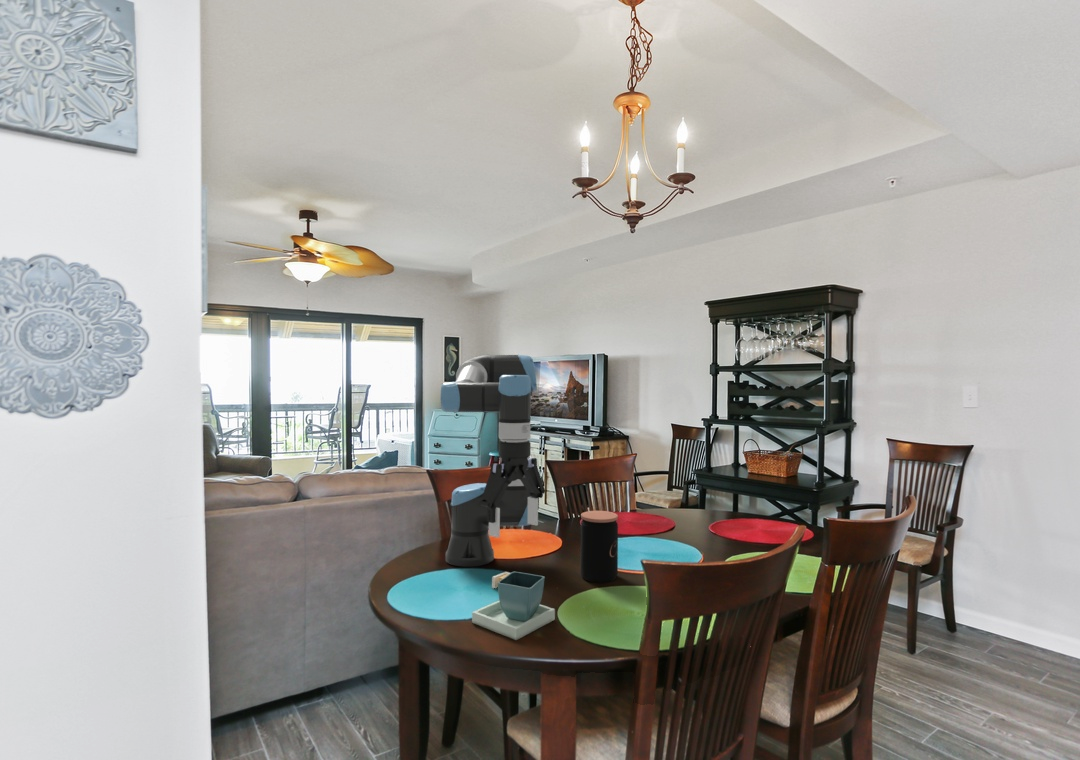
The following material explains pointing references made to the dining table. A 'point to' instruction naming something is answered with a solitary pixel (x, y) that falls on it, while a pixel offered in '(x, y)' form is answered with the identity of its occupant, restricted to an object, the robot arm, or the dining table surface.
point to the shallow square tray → (511, 620)
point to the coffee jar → (599, 546)
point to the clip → (497, 579)
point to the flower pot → (520, 595)
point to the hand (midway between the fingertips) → (514, 530)
